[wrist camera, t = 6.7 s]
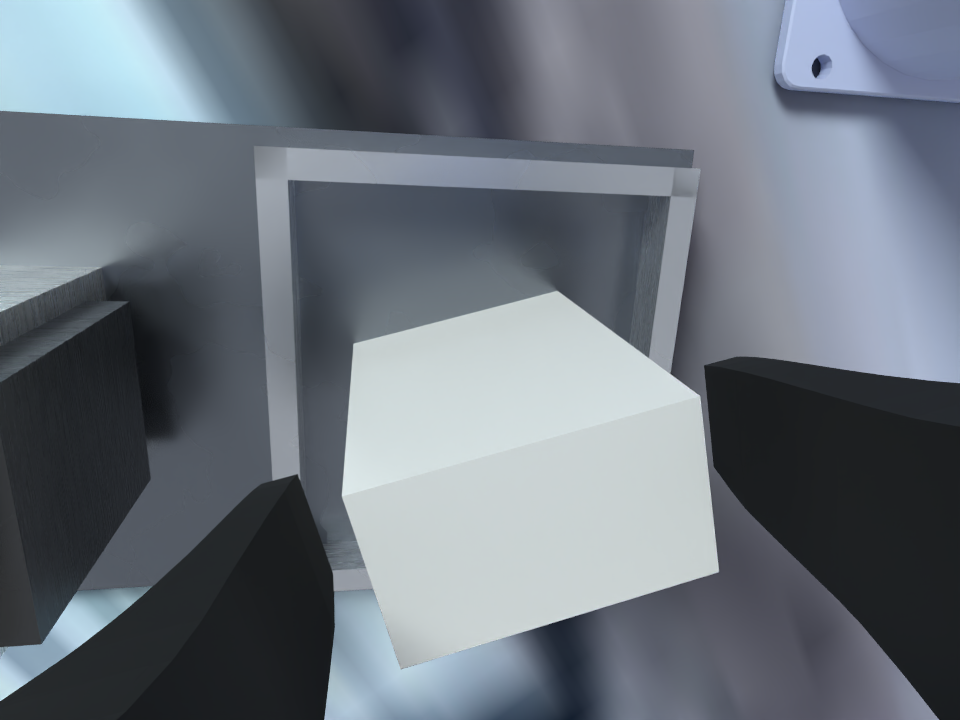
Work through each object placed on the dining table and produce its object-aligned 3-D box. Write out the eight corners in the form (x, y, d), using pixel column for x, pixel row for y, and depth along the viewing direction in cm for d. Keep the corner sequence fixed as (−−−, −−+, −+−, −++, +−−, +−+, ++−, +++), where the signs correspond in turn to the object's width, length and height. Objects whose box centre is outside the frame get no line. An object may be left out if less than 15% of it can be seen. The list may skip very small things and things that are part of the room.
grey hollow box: (678, 150, 16) (954, 149, 8) (624, 540, 19) (787, 786, 12) (-303, 95, 12) (-1333, 8, 5) (-155, 583, 15) (-628, 975, 8)
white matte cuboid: (353, 343, 15) (341, 496, 8) (557, 290, 15) (699, 395, 9) (395, 482, 16) (414, 709, 10) (582, 429, 17) (723, 612, 10)
